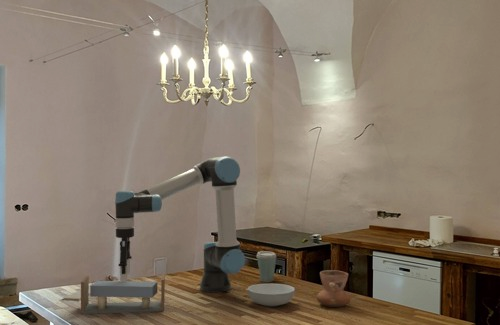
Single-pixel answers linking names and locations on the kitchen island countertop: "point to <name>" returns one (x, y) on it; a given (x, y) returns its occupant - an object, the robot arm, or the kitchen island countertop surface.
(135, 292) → the shelf board
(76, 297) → the baseboard
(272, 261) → the disposable coffee cup
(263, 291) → the serving bowl
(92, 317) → the kitchen island countertop surface
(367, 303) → the kitchen island countertop surface
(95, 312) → the peg shelf
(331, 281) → the ceramic jug
